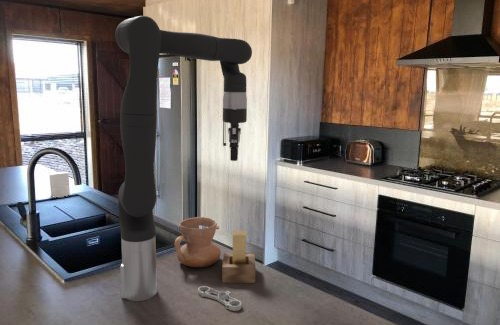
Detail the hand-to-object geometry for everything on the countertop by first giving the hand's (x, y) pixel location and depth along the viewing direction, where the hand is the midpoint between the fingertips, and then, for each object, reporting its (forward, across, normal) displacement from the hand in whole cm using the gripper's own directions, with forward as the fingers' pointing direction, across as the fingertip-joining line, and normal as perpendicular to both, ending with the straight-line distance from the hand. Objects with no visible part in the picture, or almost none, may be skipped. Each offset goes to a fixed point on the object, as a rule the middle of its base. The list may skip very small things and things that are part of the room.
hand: (234, 158), depth 130 cm
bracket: (+37, +23, -3) cm, 44 cm away
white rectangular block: (+36, -84, -94) cm, 131 cm away
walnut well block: (+36, +8, +2) cm, 37 cm away
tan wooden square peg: (+36, +8, +2) cm, 37 cm away
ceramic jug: (+36, -1, -12) cm, 38 cm away
